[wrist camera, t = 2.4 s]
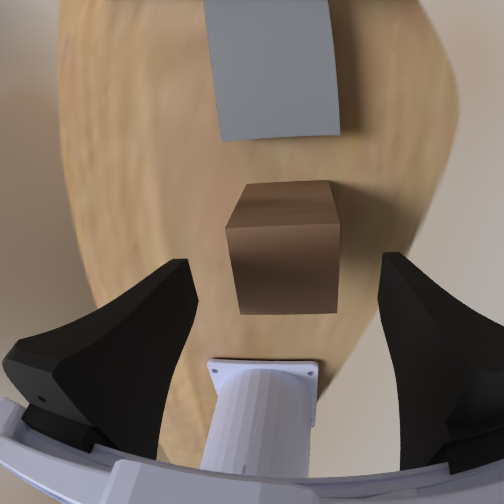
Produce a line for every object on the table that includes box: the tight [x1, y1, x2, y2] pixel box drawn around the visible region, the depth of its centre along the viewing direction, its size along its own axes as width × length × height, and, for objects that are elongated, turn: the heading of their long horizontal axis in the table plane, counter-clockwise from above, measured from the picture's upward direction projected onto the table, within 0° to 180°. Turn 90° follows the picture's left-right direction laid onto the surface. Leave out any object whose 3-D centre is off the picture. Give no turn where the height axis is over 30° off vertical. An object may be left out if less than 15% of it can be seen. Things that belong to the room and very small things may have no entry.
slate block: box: [203, 0, 340, 142], centre depth 12 cm, size 7×5×2 cm
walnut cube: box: [225, 180, 340, 315], centre depth 14 cm, size 4×4×5 cm
